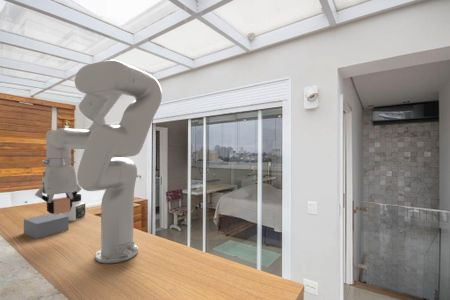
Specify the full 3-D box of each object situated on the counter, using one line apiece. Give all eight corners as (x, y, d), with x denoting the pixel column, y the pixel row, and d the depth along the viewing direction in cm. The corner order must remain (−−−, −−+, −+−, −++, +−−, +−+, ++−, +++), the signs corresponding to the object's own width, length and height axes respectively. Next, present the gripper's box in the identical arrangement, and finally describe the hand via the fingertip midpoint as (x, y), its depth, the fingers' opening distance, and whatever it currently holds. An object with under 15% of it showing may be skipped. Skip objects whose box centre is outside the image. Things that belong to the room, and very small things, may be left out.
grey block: (68, 230, 96) (68, 216, 96) (36, 239, 87) (36, 223, 87) (54, 226, 102) (54, 212, 102) (23, 234, 92) (23, 219, 92)
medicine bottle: (76, 221, 108) (76, 195, 108) (61, 221, 108) (61, 195, 108) (85, 216, 115) (85, 192, 115) (71, 216, 115) (71, 192, 115)
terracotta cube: (70, 211, 88) (70, 198, 88) (54, 214, 84) (54, 200, 84) (64, 209, 90) (64, 197, 90) (49, 212, 86) (49, 199, 86)
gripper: (34, 164, 78) (35, 218, 78) (87, 162, 92) (88, 207, 92) (27, 164, 82) (27, 215, 82) (79, 161, 96) (79, 205, 96)
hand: (59, 210), depth 87 cm, fingers closed on terracotta cube, 4 cm apart
